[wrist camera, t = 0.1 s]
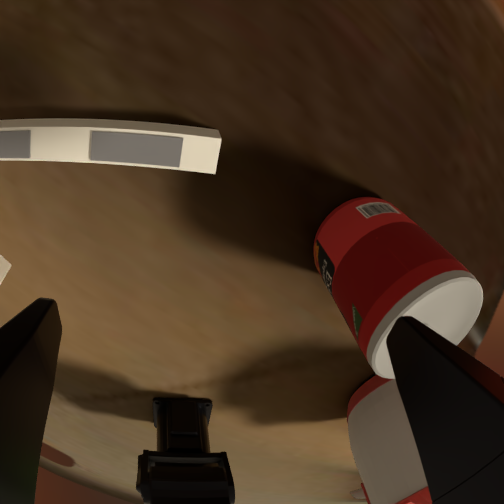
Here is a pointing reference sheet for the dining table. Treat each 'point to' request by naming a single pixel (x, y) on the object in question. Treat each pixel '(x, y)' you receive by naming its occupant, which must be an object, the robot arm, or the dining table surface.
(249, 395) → the dining table surface
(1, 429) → the robot arm
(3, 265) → the carton
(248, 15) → the dining table surface
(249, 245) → the dining table surface
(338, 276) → the canned food
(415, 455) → the citrus juicer
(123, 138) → the rail
